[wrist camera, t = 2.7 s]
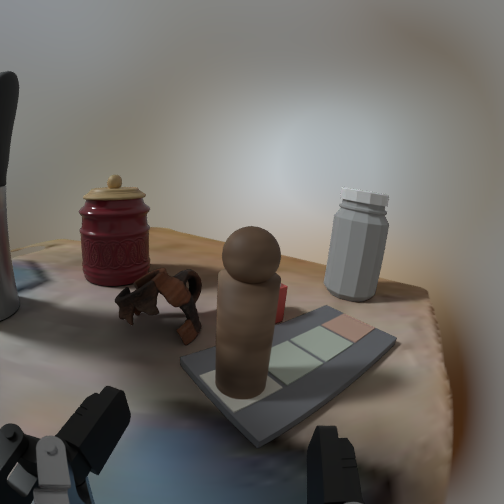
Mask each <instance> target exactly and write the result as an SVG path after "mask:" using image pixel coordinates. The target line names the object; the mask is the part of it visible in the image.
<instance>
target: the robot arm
mask: <svg viewBox="0 0 504 504" xmlns="http://www.w3.org/2000/svg"><path fill="white" fill-rule="evenodd" d="M18 97H19V82H18V78H17V76H16V74H15V73H13V72H11V71H7V72H1V73H0V321H1V320H3V319H5V318H7V317H9V316H11V315H12V314H13V313H15V312H16V310H17V309H18V308H19V305H20V302H19V298H18V293H17V288H16V283H15V278H14V272H13V266H12V260H11V253H10V245H9V236H8V224H7V208H6V186H5V185H6V174H7V168H8V161H9V152H10V143H11V136H12V130H13V124H14V119H15V115H16V109H17V103H18ZM130 418H131V413H130V410H129V406H128V403H127V400H126V396H125V393H124V391H122V390H119V389H116V388H113V387H111V386H106V387H104V389H103V390H102V391H101V392H100V394H98V393H94V394H92V395H90V396H89V397H87V398H86V399H85V400H84V401H83V403H82V404H81V405H80V407H78V409H77V410H76V411H75V413H74V414H73V415H72V416H71V417H70V419H69V420H68V421H67V422H66V424H65V425H64V426H63V427H62V429H61V430H60V431H59V432H58V433H57V435H55V436H45V437H43V438H41V439H39V438H36V437H33V436H29V435H26V434H24V433H23V431H22V430H21V428H20V427H19V426H18V425H16V424H6V425H4V426H3V427H2V428H1V429H0V504H31V503H32V501H33V499H34V502H35V504H95V502H94V499H93V495H92V492H91V488H90V484H89V480H88V477H87V476H88V474H89V472H92V473H94V474H97V475H99V474H100V472H101V470H102V468H103V467H104V465H105V463H106V462H107V460H108V458H109V457H110V455H111V453H112V451H113V450H114V448H115V446H116V445H117V443H118V441H119V440H120V438H121V436H122V435H123V433H124V431H125V430H126V428H127V426H128V425H129V422H130ZM355 458H356V457H355V452H354V447H353V445H352V444H351V443H350V441H349V440H348V438H338V432H337V427H336V426H317V427H316V429H315V431H314V434H313V436H312V439H311V441H310V443H309V446H308V450H307V504H365V503H364V502H363V499H362V495H361V488H360V481H359V475H358V469H357V463H356V460H355ZM17 462H18V465H17V466H16V468H15V469H14V471H13V472H12V474H11V475H10V477H9V478H8V480H7V477H8V475H9V473H10V472H11V470H12V469H13V467H14V466H15V465H16V463H17Z"/></svg>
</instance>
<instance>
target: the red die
mask: <svg viewBox="0 0 504 504" xmlns="http://www.w3.org/2000/svg"><path fill="white" fill-rule="evenodd" d="M287 287H288V286H286V285H283V284H280V291H279V299H278V306H277V314H276V321H275V324H276V323H278V322H281V321H283V315H284V308H285V301H286V294H287Z"/></svg>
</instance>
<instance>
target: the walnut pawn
mask: <svg viewBox="0 0 504 504" xmlns="http://www.w3.org/2000/svg"><path fill="white" fill-rule="evenodd" d="M222 260H223V264H224V267H225V269H223V270H221V271H220V272H219V274H218V293H217V321H216V363H215V384H216V387H217V389H218V390H219V391H220V392H221V393H222V394H224V395H226V396H228V397H230V398H234V399H251V398H254V397H257V396H258V395H260V394H261V393H262V392H263V391H264V389H265V387H266V381H267V375H268V368H269V362H270V355H271V349H272V342H273V335H274V328H275V321H276V314H277V306H278V299H279V291H280V284H281V278H280V276H279V275H278V274H276V273H275V272H276V271H277V269H278V267H279V264H280V260H281V252H280V247H279V245H278V242H277V241H276V239H275V238H274V236H273V235H272V234H271V233H269V232H268V231H266V230H265V229H262V228H259V227H253V226H248V227H244V228H241V229H239V230H237V231H235V232H234V233H232V234H231V235H230V236H229V238H228V239H227V241H226V242H225V244H224V247H223V252H222Z"/></svg>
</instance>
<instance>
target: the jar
mask: <svg viewBox="0 0 504 504" xmlns="http://www.w3.org/2000/svg"><path fill="white" fill-rule="evenodd" d="M341 198H342V199H343V202H342V204H340V205H339V206H340V207H341V208H340V210H339V211H338V212H337V213H336V214H335V215H334V220H333V228H332V235H331V242H330V248H329V255H328V261H327V267H326V273H325V278H324V284H325V286H326V288H327V290H328V291H329V292H330V294H332V295H334V296H336V297H338V298H340V299H344V300H348V301H365V300H367V299H370V298H371V297H372V296H373V295H375V291H376V287H377V283H378V279H379V274H380V270H381V264H382V260H383V255H384V250H385V244H386V239H387V234H388V227H389V223H388V221H387V219H386V217H385V215H386V214H387V212H386V211H385V206H388V200H389V196H388V195H386V194H380V193H375V192H368V191H363V190H357V189H351V188H344V187H343V188H341Z"/></svg>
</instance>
